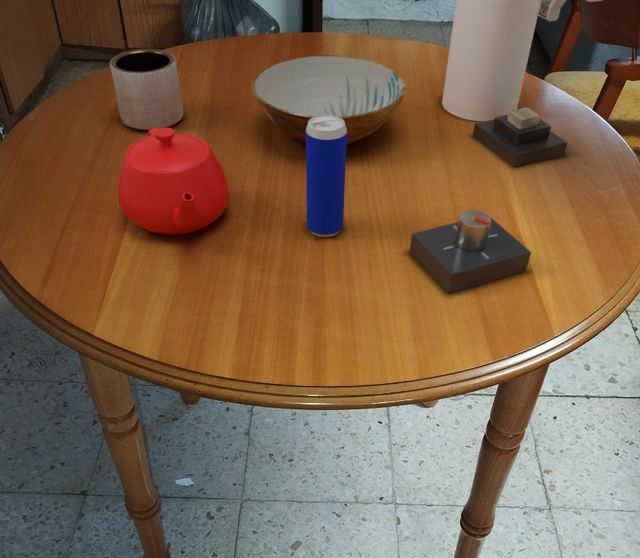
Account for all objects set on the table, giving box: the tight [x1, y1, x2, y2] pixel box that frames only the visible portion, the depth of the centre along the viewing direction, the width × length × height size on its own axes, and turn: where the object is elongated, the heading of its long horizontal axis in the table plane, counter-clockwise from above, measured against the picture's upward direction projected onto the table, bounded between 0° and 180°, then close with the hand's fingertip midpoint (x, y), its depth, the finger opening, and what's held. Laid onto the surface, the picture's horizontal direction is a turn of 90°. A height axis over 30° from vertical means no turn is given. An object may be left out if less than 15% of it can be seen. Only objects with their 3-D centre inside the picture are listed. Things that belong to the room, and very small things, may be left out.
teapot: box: [117, 127, 231, 236], centre depth 93 cm, size 25×16×12 cm, turn 21°
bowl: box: [250, 54, 407, 146], centre depth 112 cm, size 25×25×8 cm
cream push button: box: [507, 107, 541, 129], centre depth 109 cm, size 4×4×2 cm
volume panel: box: [409, 217, 532, 295], centre depth 89 cm, size 12×10×3 cm
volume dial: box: [455, 209, 492, 251], centre depth 87 cm, size 4×4×4 cm
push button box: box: [472, 115, 568, 168], centre depth 111 cm, size 10×12×4 cm
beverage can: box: [305, 115, 347, 238], centre depth 90 cm, size 5×5×15 cm
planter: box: [109, 48, 184, 132], centre depth 115 cm, size 11×11×10 cm
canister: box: [441, 0, 539, 122], centre depth 116 cm, size 14×14×20 cm
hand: (546, 18), depth 99 cm, fingers closed
